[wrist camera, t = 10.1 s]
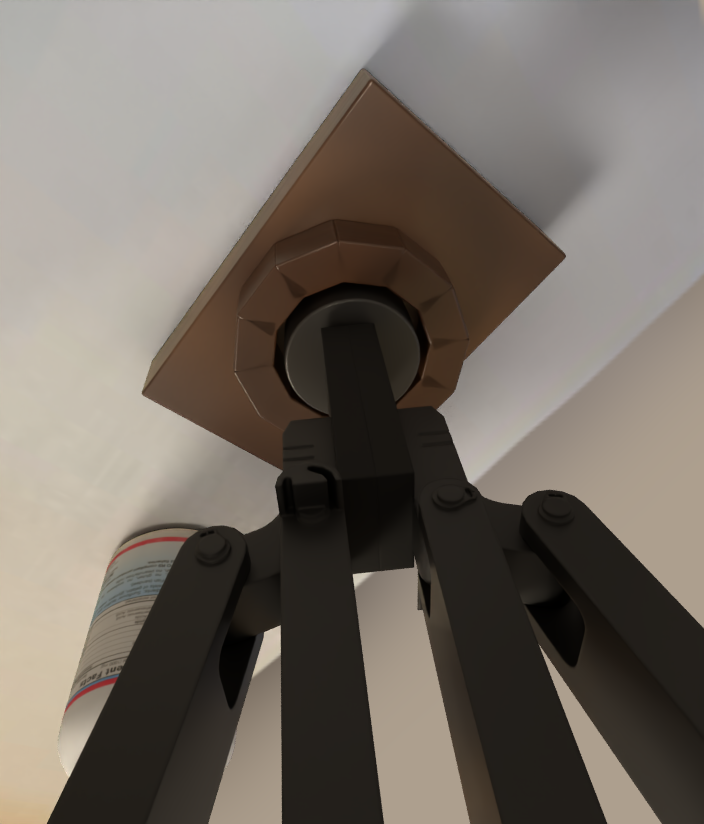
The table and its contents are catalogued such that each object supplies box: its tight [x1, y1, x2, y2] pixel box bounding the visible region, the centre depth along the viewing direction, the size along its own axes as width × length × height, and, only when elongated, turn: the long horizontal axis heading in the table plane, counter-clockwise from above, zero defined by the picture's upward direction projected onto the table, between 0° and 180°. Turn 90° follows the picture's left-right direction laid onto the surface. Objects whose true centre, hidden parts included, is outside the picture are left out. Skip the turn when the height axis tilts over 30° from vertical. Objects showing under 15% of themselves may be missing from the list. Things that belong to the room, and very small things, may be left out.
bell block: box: [142, 69, 566, 471], centre depth 21 cm, size 12×8×4 cm, turn 141°
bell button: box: [284, 282, 420, 414], centre depth 20 cm, size 4×4×2 cm
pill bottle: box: [58, 528, 237, 777], centre depth 25 cm, size 6×6×11 cm
